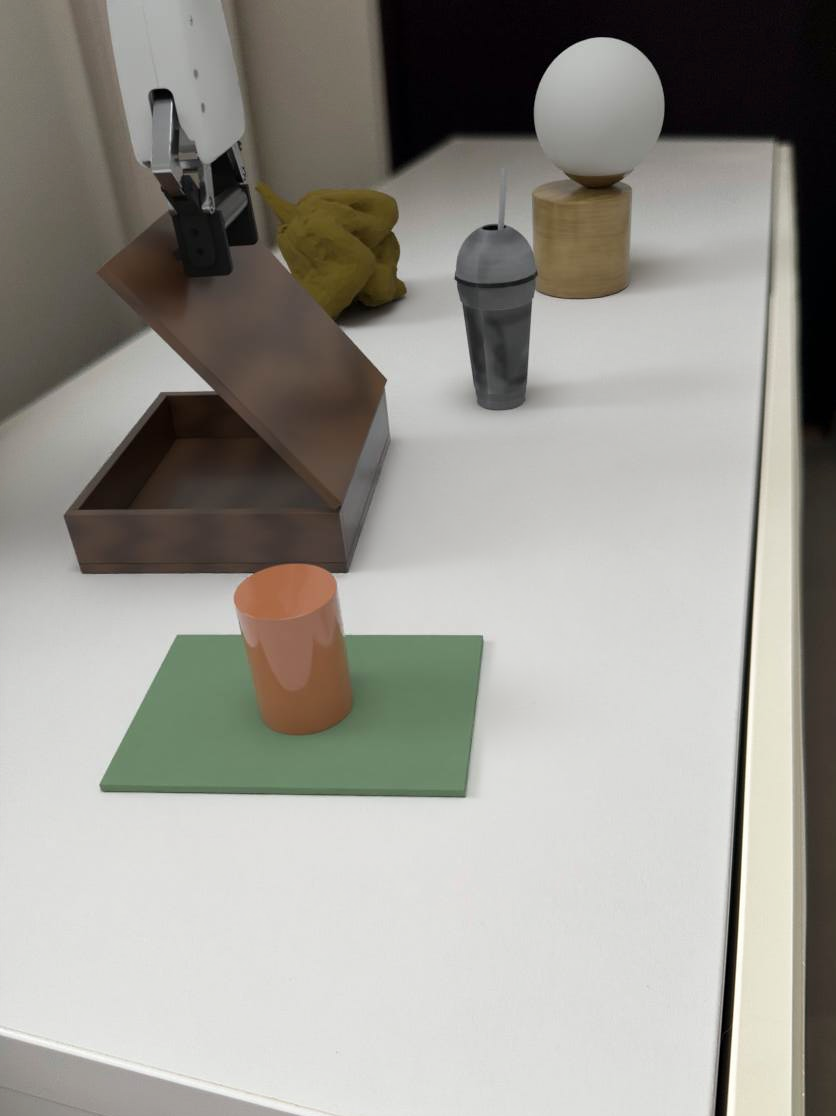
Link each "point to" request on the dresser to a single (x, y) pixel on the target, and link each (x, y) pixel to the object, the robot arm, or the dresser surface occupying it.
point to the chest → (214, 497)
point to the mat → (313, 759)
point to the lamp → (591, 164)
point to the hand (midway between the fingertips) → (223, 256)
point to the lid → (258, 347)
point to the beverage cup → (497, 308)
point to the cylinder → (295, 647)
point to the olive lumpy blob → (340, 245)
